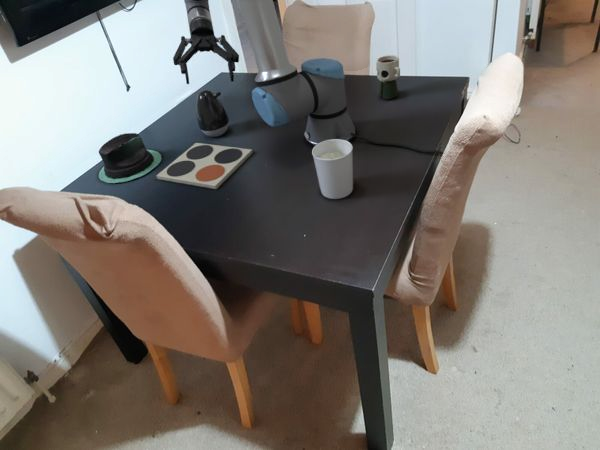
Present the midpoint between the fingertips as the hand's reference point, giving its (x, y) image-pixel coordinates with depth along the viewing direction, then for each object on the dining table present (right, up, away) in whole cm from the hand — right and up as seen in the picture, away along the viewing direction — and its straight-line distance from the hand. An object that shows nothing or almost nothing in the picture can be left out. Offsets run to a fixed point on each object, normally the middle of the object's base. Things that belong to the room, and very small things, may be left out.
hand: (210, 79), depth 135 cm
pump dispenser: (-1, -13, +15) cm, 20 cm away
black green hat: (-27, -26, +6) cm, 38 cm away
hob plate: (-1, -27, -2) cm, 27 cm away
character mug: (+58, -1, +17) cm, 60 cm away
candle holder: (+37, -36, -22) cm, 56 cm away
